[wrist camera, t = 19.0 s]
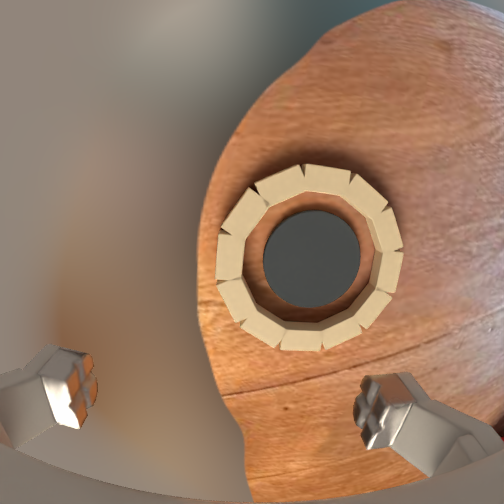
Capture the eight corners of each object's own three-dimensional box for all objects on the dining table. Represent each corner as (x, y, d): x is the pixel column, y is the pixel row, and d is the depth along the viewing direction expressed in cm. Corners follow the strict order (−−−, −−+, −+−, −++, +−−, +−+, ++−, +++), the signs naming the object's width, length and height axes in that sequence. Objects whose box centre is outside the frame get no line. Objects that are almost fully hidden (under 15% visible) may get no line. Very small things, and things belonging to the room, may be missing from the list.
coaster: (268, 204, 24) (269, 205, 24) (365, 216, 25) (367, 217, 24) (257, 302, 26) (258, 304, 25) (348, 307, 27) (351, 309, 26)
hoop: (226, 155, 23) (225, 154, 22) (405, 182, 24) (414, 183, 23) (211, 335, 27) (210, 345, 25) (372, 342, 28) (379, 351, 26)
